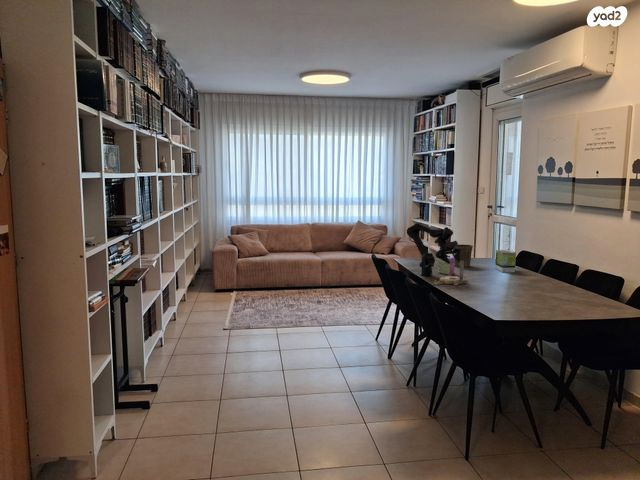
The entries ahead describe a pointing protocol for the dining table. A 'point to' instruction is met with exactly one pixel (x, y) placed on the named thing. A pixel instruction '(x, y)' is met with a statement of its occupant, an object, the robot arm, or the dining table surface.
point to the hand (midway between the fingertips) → (454, 263)
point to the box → (446, 266)
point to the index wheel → (454, 279)
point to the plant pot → (464, 255)
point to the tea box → (505, 260)
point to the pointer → (437, 282)
